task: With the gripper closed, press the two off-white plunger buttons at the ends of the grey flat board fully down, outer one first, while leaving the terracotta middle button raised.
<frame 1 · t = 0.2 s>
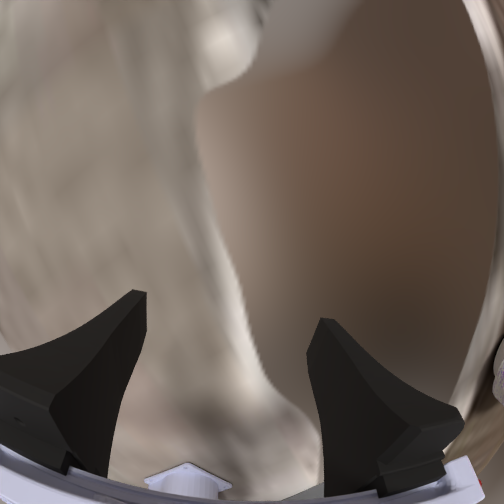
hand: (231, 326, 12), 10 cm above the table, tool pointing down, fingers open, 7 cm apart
grey flat board: (320, 500, 34), on the table
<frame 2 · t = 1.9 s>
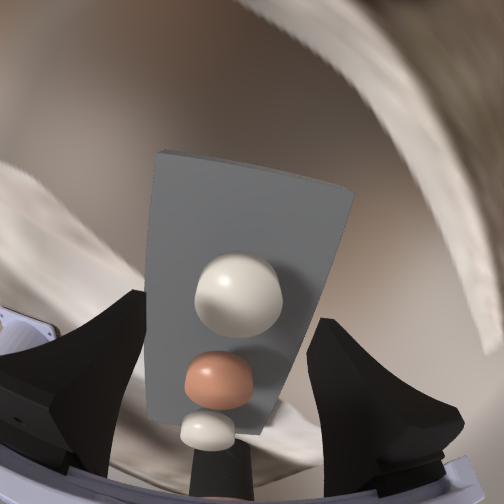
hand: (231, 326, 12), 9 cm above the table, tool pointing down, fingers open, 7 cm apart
outer button: (238, 290, 16), point 5 cm above the table, slide at 0.0 cm
middle button: (219, 376, 19), point 5 cm above the table, slide at 0.0 cm
inner button: (208, 427, 22), point 5 cm above the table, slide at 0.0 cm
travel mug: (222, 447, 32), on the table
grey flat board: (222, 328, 24), on the table
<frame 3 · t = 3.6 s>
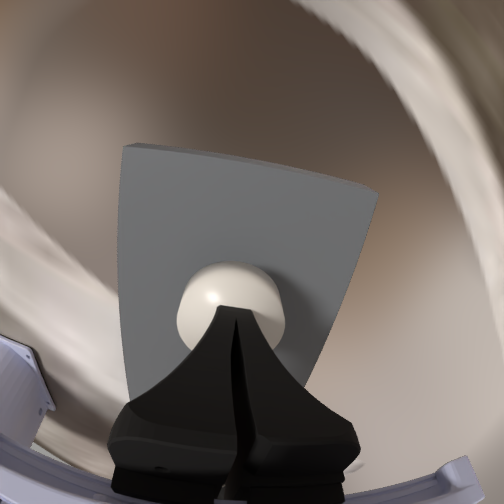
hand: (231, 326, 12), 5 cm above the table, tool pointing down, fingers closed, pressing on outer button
outer button: (231, 308, 13), point 4 cm above the table, slide at 1.2 cm, touching gripper
grey flat board: (216, 355, 19), on the table
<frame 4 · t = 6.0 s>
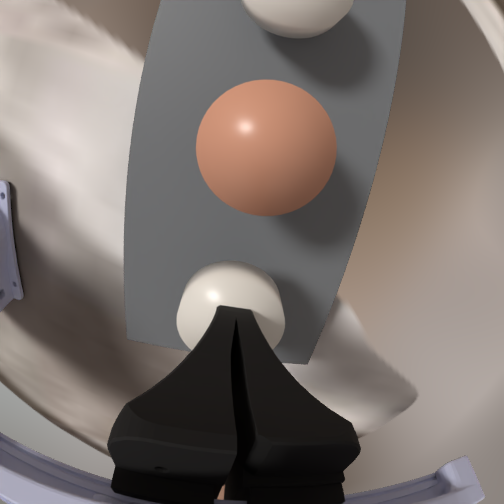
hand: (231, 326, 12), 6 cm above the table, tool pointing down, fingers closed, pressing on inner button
middle button: (264, 145, 10), point 5 cm above the table, slide at 0.0 cm
inner button: (231, 307, 13), point 5 cm above the table, slide at 0.2 cm, touching gripper
grey flat board: (256, 138, 15), on the table
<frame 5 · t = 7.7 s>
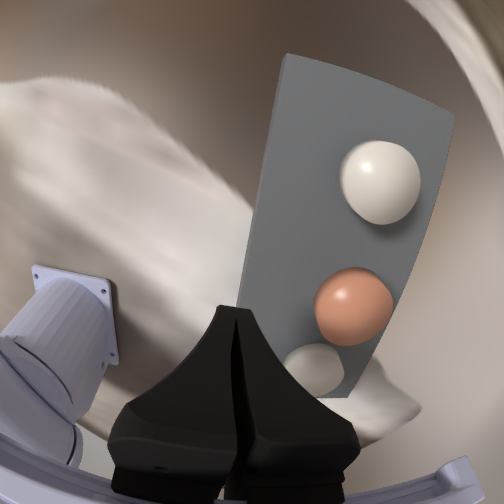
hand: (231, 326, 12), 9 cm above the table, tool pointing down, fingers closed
outer button: (376, 179, 15), point 4 cm above the table, slide at 1.6 cm
middle button: (350, 302, 17), point 5 cm above the table, slide at 0.0 cm
inner button: (311, 366, 21), point 4 cm above the table, slide at 1.6 cm
grey flat board: (328, 262, 21), on the table
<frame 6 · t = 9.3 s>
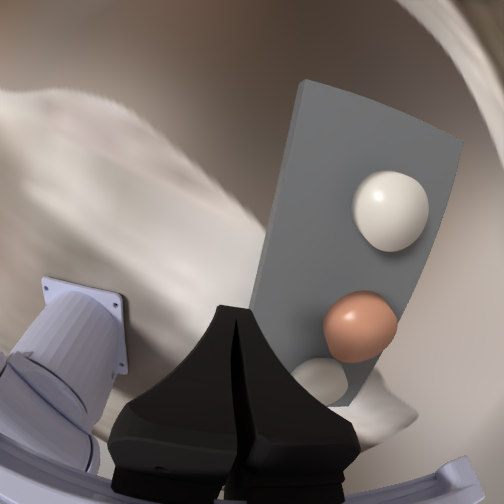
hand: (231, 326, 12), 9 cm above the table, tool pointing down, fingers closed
outer button: (386, 207, 16), point 4 cm above the table, slide at 1.6 cm
middle button: (357, 322, 17), point 5 cm above the table, slide at 0.0 cm
inner button: (316, 379, 22), point 4 cm above the table, slide at 1.6 cm
grey flat board: (335, 280, 22), on the table
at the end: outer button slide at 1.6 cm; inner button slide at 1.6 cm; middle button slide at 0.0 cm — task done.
